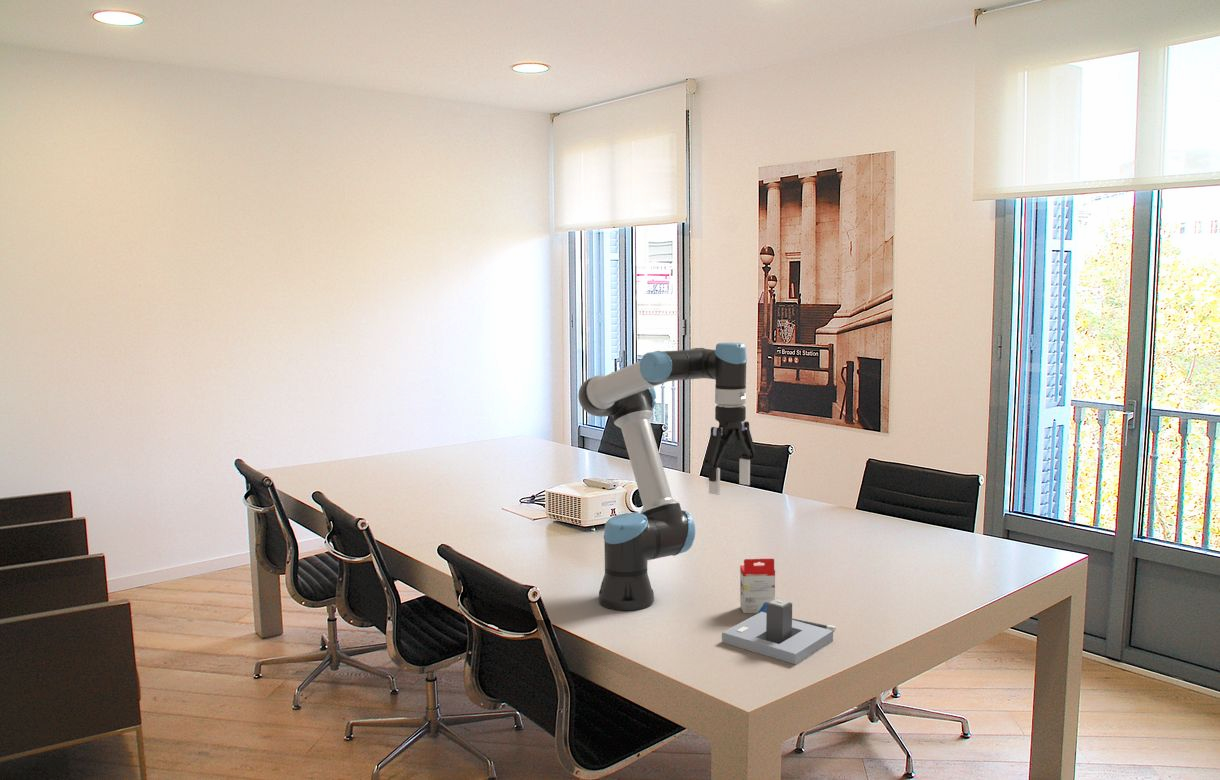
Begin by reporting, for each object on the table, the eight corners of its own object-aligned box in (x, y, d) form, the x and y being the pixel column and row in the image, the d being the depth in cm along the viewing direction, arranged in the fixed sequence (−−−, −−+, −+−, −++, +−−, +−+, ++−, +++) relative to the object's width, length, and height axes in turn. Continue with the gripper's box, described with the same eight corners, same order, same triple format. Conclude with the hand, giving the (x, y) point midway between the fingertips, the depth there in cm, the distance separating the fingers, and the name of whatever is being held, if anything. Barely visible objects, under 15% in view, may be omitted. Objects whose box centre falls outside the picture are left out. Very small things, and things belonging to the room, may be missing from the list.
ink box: (771, 606, 241) (771, 553, 240) (775, 613, 237) (775, 558, 235) (739, 607, 241) (739, 553, 239) (742, 613, 236) (743, 559, 235)
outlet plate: (722, 642, 218) (722, 631, 217) (761, 620, 231) (761, 610, 231) (795, 664, 205) (795, 653, 204) (833, 640, 218) (833, 629, 218)
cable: (770, 617, 233) (770, 614, 233) (772, 616, 234) (772, 613, 234) (834, 631, 224) (834, 627, 224) (836, 629, 225) (836, 626, 225)
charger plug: (766, 644, 216) (766, 601, 215) (775, 638, 219) (776, 596, 218) (782, 649, 213) (782, 605, 212) (791, 643, 217) (792, 600, 215)
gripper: (714, 412, 212) (714, 500, 215) (769, 401, 231) (768, 482, 233) (688, 409, 217) (688, 495, 219) (744, 398, 236) (744, 478, 238)
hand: (729, 489), depth 226 cm, fingers open, 13 cm apart
